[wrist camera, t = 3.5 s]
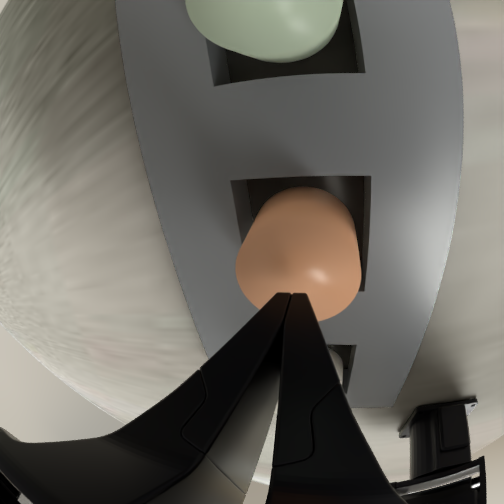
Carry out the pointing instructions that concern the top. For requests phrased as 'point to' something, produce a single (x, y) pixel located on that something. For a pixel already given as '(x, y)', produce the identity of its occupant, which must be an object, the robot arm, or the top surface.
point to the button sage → (267, 26)
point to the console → (307, 167)
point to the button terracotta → (301, 251)
